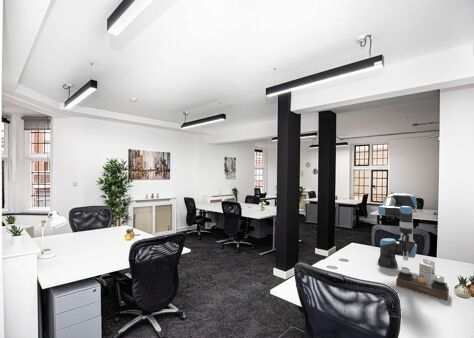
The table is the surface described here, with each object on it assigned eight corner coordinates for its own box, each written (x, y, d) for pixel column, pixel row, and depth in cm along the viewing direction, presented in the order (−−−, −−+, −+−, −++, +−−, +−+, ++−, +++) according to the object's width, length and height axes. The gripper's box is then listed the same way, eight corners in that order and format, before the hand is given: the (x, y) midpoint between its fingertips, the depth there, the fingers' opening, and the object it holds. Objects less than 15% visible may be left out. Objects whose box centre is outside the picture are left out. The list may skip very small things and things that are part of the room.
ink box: (418, 277, 190) (418, 258, 191) (422, 276, 192) (422, 258, 193) (431, 282, 182) (431, 262, 183) (435, 281, 184) (435, 261, 185)
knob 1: (402, 272, 180) (402, 266, 180) (410, 274, 176) (410, 268, 177) (400, 273, 176) (400, 268, 176) (408, 276, 173) (408, 270, 173)
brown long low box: (399, 280, 184) (400, 270, 184) (448, 294, 164) (448, 282, 164) (396, 285, 175) (396, 274, 175) (447, 300, 156) (447, 288, 156)
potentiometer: (418, 280, 173) (418, 276, 173) (426, 282, 170) (426, 278, 170) (417, 282, 170) (417, 277, 170) (425, 284, 167) (425, 279, 167)
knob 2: (434, 280, 167) (435, 274, 167) (444, 282, 163) (444, 276, 163) (434, 282, 163) (434, 276, 163) (443, 285, 160) (443, 279, 160)
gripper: (410, 229, 169) (409, 263, 169) (413, 227, 179) (413, 259, 179) (397, 228, 175) (397, 260, 174) (401, 225, 185) (401, 256, 184)
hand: (405, 259), depth 177 cm, fingers closed
